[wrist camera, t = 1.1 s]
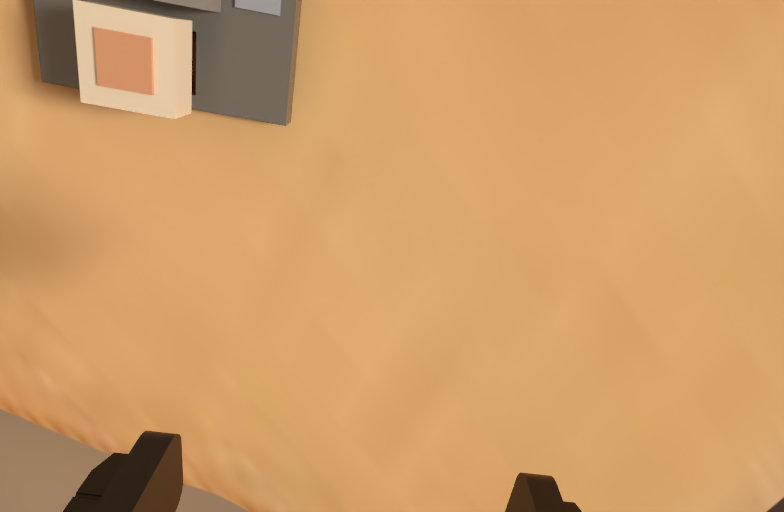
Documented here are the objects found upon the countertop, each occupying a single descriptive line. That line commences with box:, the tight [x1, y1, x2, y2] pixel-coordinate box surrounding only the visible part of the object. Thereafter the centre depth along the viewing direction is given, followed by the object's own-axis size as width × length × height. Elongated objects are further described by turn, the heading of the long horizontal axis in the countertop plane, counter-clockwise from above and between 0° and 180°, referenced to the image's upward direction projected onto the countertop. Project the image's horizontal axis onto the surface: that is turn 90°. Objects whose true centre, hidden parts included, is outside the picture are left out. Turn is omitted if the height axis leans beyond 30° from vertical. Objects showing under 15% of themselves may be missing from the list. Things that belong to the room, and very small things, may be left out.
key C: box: [73, 0, 192, 119], centre depth 25 cm, size 5×5×4 cm
